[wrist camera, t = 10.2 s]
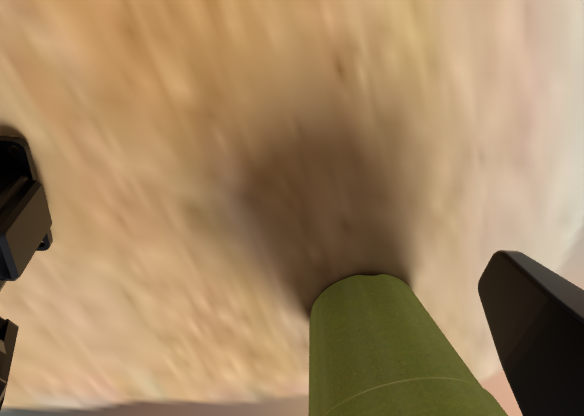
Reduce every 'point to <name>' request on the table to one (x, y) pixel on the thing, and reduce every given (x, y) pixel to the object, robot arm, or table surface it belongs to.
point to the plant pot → (386, 356)
